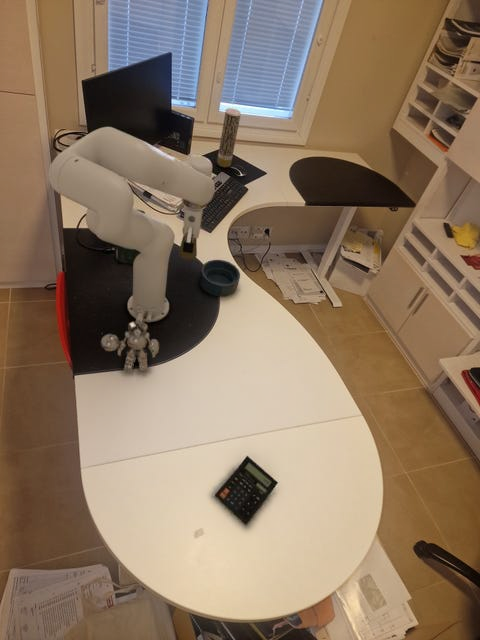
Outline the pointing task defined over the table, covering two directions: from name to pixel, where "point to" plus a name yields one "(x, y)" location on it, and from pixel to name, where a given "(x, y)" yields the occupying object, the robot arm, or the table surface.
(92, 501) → the table surface
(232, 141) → the paper tube
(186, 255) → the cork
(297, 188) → the table surface
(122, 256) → the coffee jar
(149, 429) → the table surface
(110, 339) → the robot toy
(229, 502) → the calculator
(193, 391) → the table surface
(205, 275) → the bowl
